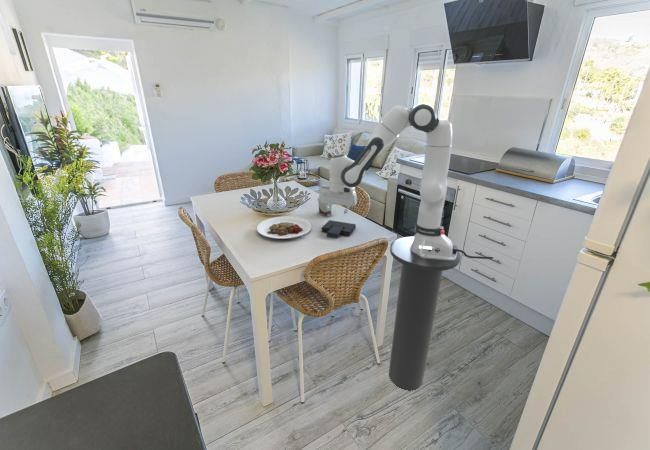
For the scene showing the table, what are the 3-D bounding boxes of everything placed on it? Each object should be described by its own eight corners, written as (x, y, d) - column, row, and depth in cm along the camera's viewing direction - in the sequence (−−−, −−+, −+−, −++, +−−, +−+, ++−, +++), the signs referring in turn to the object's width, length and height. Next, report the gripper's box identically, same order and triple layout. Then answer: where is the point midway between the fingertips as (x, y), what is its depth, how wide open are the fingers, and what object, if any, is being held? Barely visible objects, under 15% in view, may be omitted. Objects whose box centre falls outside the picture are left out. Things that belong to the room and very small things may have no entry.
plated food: (259, 219, 188) (259, 214, 186) (310, 218, 190) (310, 213, 189) (254, 242, 160) (253, 236, 159) (312, 240, 163) (312, 234, 161)
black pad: (355, 228, 179) (355, 224, 178) (349, 236, 169) (349, 231, 168) (329, 224, 184) (329, 220, 183) (321, 231, 174) (321, 227, 173)
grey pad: (343, 231, 174) (343, 227, 173) (337, 238, 166) (337, 234, 165) (333, 229, 176) (333, 225, 175) (326, 236, 168) (326, 232, 167)
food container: (336, 216, 196) (337, 201, 192) (328, 218, 193) (329, 202, 189) (325, 210, 206) (325, 195, 202) (317, 212, 203) (317, 197, 199)
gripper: (316, 186, 162) (317, 211, 167) (354, 190, 155) (354, 216, 160) (321, 183, 167) (321, 208, 172) (358, 187, 161) (357, 212, 166)
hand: (337, 212), depth 166 cm, fingers open, 8 cm apart
